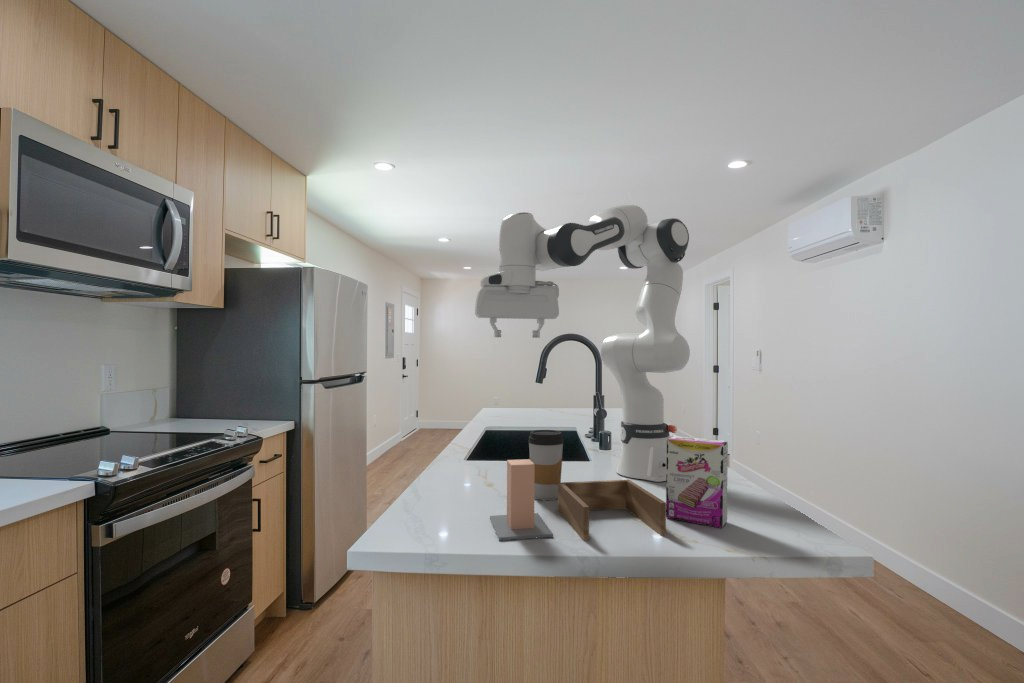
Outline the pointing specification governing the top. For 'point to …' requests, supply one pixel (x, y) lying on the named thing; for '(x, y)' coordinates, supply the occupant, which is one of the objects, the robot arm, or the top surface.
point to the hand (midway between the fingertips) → (517, 337)
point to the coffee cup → (546, 462)
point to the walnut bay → (608, 503)
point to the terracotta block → (520, 493)
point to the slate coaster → (507, 533)
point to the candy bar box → (697, 480)
